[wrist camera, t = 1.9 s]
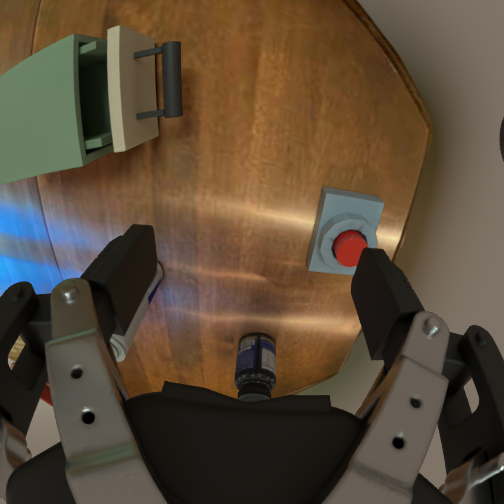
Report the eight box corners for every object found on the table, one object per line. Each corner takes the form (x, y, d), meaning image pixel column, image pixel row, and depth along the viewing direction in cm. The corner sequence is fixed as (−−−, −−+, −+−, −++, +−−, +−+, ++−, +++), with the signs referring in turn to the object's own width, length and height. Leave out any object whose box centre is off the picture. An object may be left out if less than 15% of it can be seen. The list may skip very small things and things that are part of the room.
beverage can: (126, 266, 37) (78, 344, 24) (141, 244, 35) (88, 325, 22) (154, 287, 39) (116, 369, 26) (171, 267, 37) (131, 353, 24)
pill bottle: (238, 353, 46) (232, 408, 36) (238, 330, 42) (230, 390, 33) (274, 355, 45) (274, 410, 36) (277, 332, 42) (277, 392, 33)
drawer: (194, 31, 20) (169, 12, 14) (197, 132, 26) (173, 146, 20) (59, 69, 21) (16, 72, 14) (67, 151, 27) (26, 171, 20)
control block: (322, 186, 29) (329, 199, 26) (378, 196, 30) (390, 210, 26) (306, 260, 35) (309, 280, 31) (356, 266, 35) (364, 285, 31)
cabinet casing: (124, 43, 21) (73, 33, 13) (129, 143, 28) (82, 166, 20) (38, 77, 22) (-13, 85, 14) (46, 160, 28) (-1, 185, 20)
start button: (337, 228, 28) (341, 236, 27) (367, 232, 28) (372, 240, 27) (329, 256, 30) (332, 265, 29) (358, 259, 30) (362, 268, 29)
